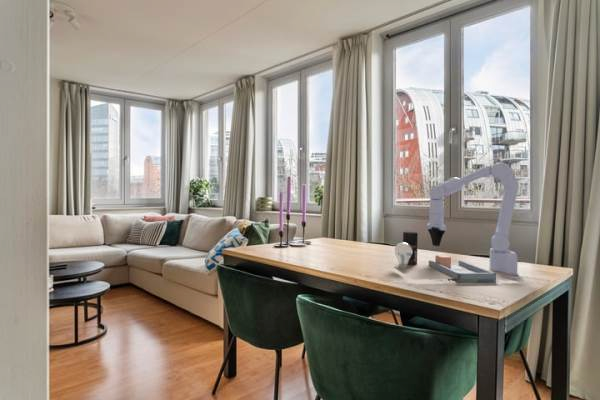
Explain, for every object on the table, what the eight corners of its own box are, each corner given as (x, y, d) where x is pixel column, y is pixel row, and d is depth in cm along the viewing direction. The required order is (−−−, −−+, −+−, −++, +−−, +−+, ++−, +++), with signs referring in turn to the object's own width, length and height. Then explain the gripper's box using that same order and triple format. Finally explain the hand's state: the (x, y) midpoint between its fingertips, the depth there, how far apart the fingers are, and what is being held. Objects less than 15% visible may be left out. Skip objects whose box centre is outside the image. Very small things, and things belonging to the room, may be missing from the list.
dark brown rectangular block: (414, 269, 158) (415, 233, 158) (400, 267, 161) (401, 232, 161) (418, 266, 163) (419, 232, 163) (405, 265, 166) (405, 231, 166)
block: (445, 266, 157) (446, 255, 157) (450, 268, 153) (451, 257, 153) (435, 266, 157) (435, 255, 157) (440, 268, 153) (440, 257, 153)
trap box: (460, 268, 161) (460, 260, 161) (496, 283, 135) (496, 273, 135) (428, 268, 160) (428, 260, 160) (457, 283, 134) (458, 273, 134)
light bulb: (393, 272, 151) (393, 242, 151) (395, 269, 158) (395, 240, 157) (411, 274, 149) (411, 243, 148) (412, 270, 155) (413, 241, 155)
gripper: (421, 213, 169) (420, 243, 169) (434, 215, 154) (434, 248, 154) (436, 213, 169) (436, 243, 169) (451, 215, 155) (450, 248, 155)
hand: (436, 245), depth 162 cm, fingers closed
